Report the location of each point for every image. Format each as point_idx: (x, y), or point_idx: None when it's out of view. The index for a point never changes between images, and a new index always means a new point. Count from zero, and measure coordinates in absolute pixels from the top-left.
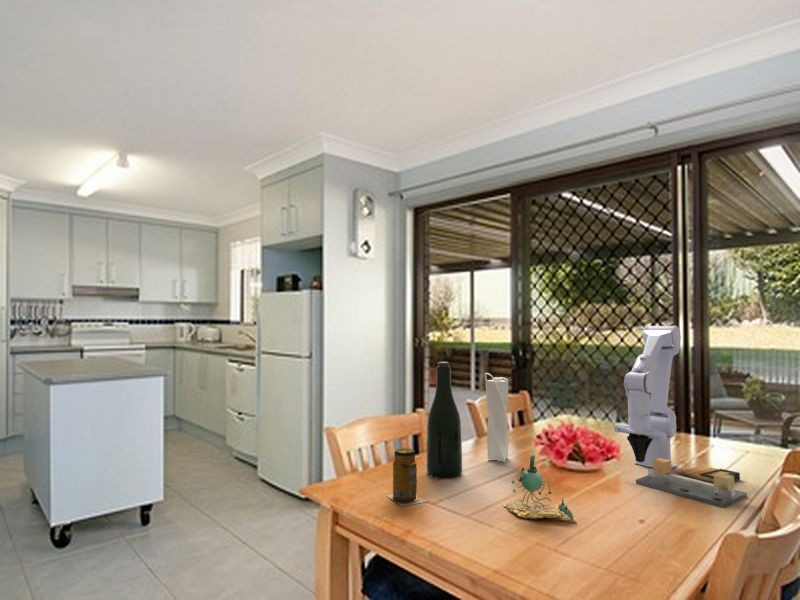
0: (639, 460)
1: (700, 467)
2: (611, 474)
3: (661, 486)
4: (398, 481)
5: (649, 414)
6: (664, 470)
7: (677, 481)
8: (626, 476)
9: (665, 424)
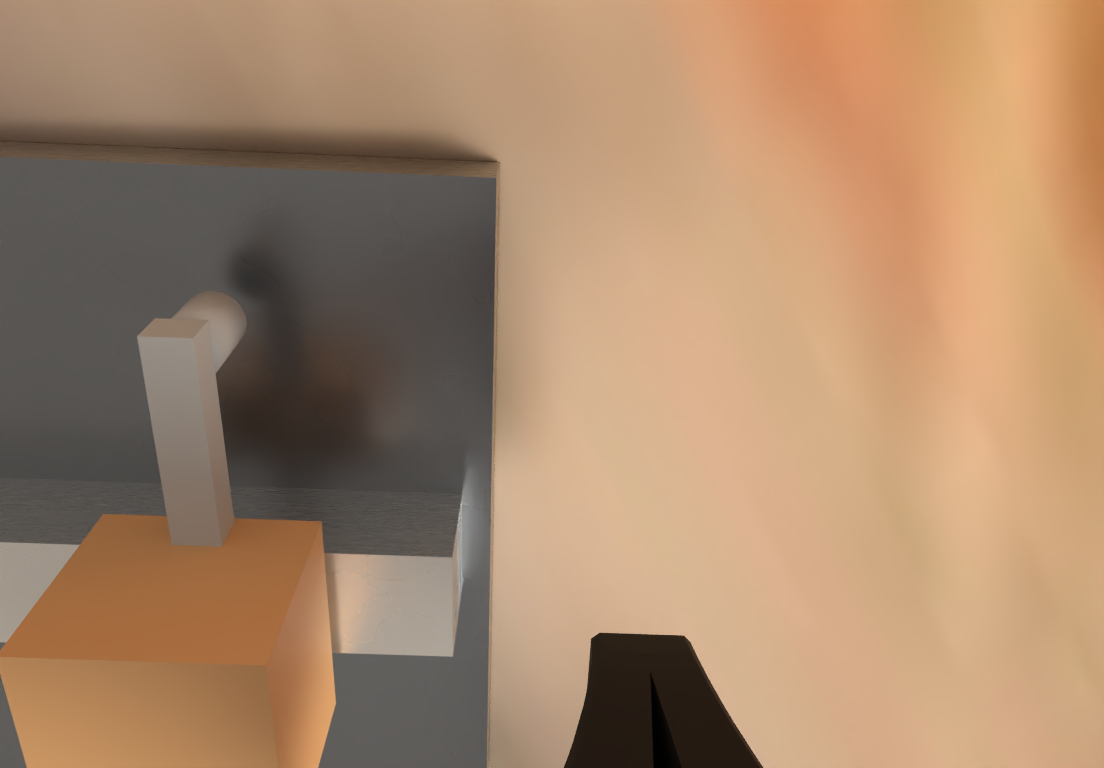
0: (612, 648)
1: None
2: (1004, 285)
3: (9, 160)
4: None
5: None
6: (78, 549)
7: None
8: (775, 376)
9: None
